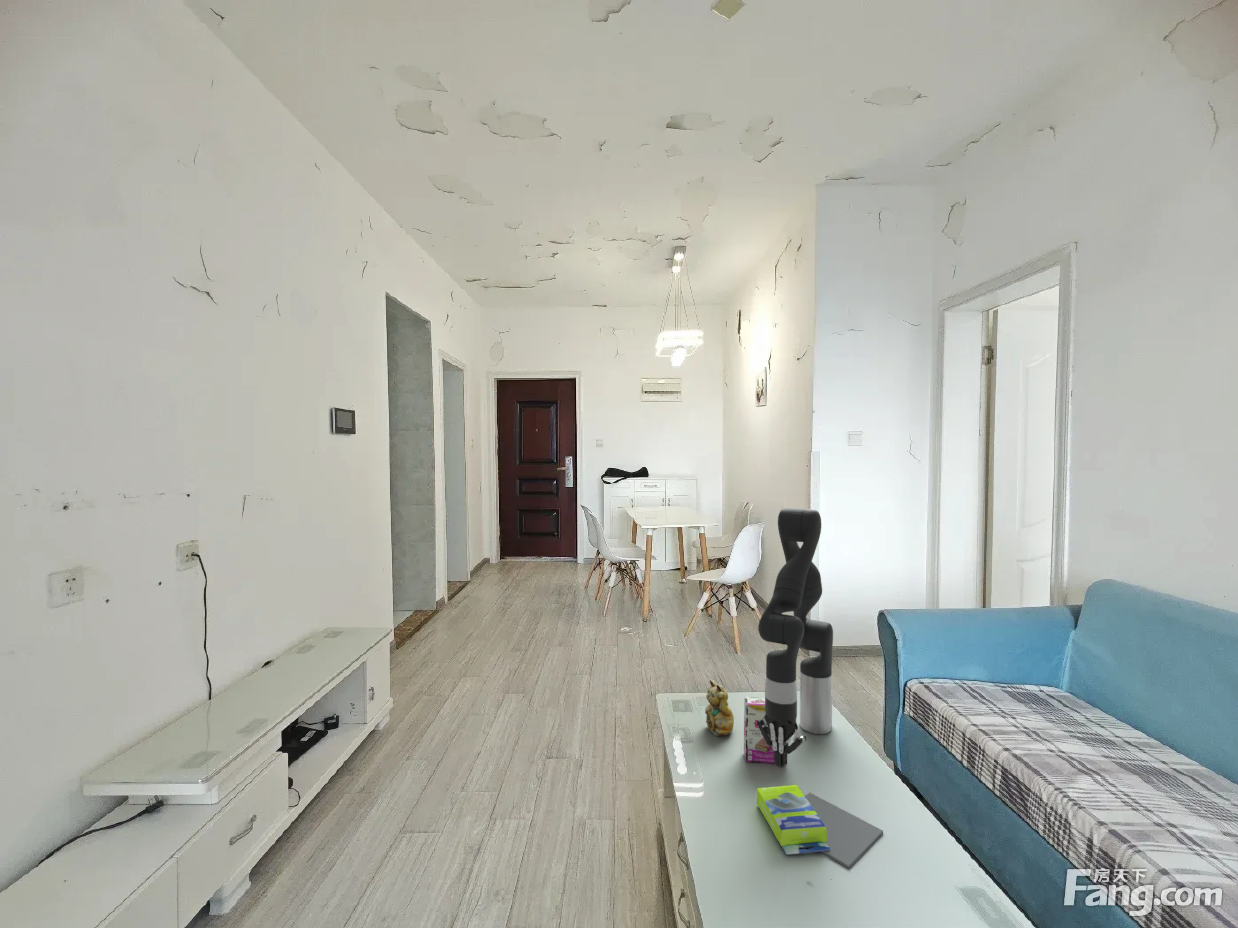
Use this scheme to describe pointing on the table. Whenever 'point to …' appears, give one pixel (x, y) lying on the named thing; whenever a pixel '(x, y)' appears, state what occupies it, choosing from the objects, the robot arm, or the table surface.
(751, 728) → the candy bar box
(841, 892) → the table surface
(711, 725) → the decorative figurine
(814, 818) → the box
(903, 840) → the table surface
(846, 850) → the mat
